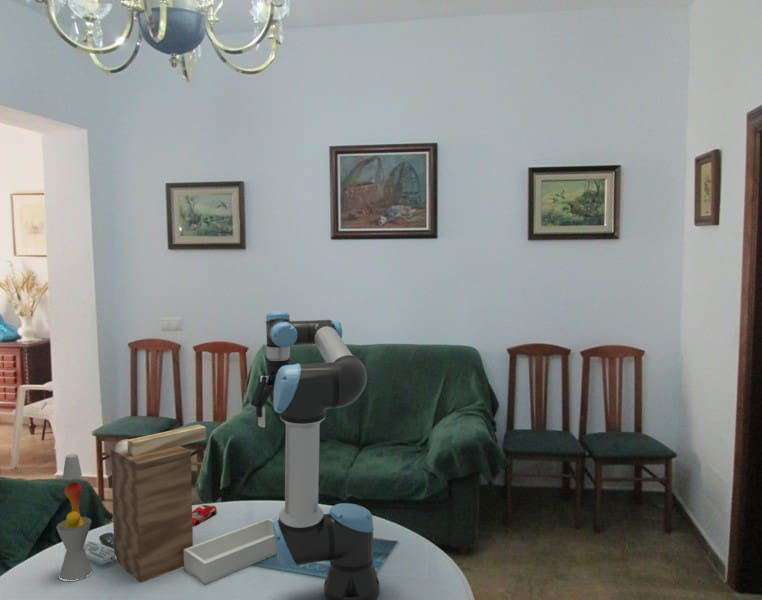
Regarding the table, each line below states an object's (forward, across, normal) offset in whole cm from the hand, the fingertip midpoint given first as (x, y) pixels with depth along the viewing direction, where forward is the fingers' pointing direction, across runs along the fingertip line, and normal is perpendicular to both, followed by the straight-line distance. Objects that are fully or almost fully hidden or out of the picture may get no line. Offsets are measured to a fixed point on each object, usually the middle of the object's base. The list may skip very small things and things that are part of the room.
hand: (278, 422), depth 200 cm
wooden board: (+3, +33, -11) cm, 35 cm away
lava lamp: (+37, +58, -19) cm, 71 cm away
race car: (+38, +14, -27) cm, 48 cm away
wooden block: (+37, +39, -10) cm, 55 cm away
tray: (+36, +20, +7) cm, 42 cm away
